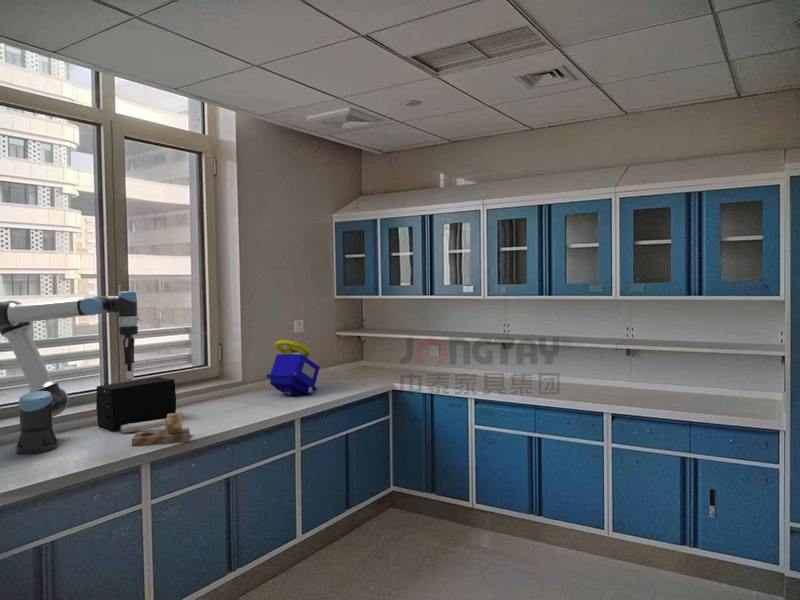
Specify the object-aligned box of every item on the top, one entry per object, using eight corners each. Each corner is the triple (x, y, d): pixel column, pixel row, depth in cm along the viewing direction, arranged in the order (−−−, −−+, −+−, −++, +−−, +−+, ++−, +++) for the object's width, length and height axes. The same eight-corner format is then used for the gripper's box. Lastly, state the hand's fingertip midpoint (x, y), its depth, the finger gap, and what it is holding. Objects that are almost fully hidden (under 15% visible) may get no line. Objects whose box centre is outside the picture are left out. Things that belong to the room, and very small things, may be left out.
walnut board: (132, 445, 251) (131, 438, 251) (137, 438, 262) (137, 431, 262) (186, 441, 256) (186, 434, 256) (189, 434, 268) (189, 428, 268)
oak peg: (166, 441, 257) (165, 416, 256) (168, 437, 263) (167, 413, 262) (181, 440, 258) (181, 415, 258) (183, 436, 264) (182, 412, 264)
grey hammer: (121, 423, 275) (177, 412, 281) (123, 437, 275) (180, 426, 282) (119, 426, 270) (176, 415, 276) (121, 440, 270) (179, 428, 277)
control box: (287, 386, 338) (302, 338, 351) (253, 385, 351) (268, 340, 365) (313, 402, 357) (326, 356, 370) (279, 401, 370) (293, 357, 384)
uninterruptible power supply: (176, 418, 300) (175, 379, 299) (110, 433, 273) (108, 390, 272) (159, 414, 310) (158, 376, 309) (93, 428, 283) (92, 386, 282)
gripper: (134, 326, 259) (136, 380, 260) (140, 324, 272) (141, 375, 273) (116, 327, 257) (118, 381, 258) (122, 324, 270) (124, 376, 271)
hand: (130, 378), depth 266 cm, fingers closed
